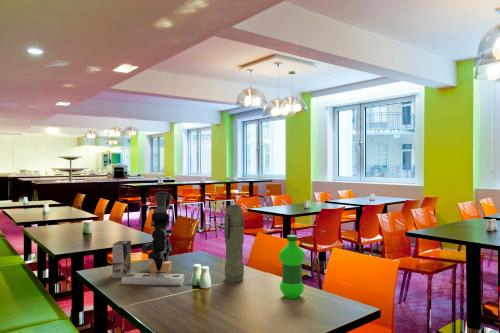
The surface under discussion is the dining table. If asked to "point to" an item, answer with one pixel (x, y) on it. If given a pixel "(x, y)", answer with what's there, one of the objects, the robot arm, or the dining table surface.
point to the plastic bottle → (292, 268)
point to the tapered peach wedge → (164, 268)
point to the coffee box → (121, 259)
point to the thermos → (234, 243)
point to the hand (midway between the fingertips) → (160, 269)
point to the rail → (153, 279)
